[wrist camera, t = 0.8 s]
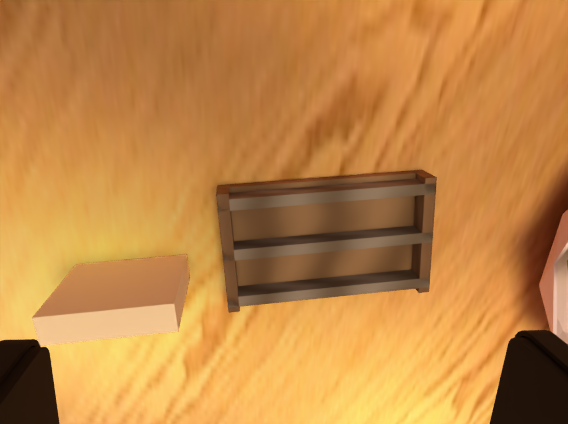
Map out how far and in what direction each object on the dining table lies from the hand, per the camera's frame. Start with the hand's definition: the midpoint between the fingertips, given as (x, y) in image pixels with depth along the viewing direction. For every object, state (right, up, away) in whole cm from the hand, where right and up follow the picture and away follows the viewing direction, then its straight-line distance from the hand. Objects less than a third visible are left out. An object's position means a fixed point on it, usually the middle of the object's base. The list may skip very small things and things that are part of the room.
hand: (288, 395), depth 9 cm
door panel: (-14, -2, +31) cm, 34 cm away
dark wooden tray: (+4, +2, +32) cm, 32 cm away
